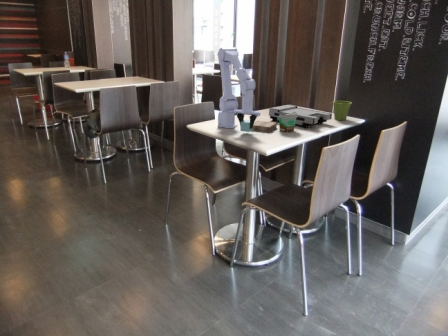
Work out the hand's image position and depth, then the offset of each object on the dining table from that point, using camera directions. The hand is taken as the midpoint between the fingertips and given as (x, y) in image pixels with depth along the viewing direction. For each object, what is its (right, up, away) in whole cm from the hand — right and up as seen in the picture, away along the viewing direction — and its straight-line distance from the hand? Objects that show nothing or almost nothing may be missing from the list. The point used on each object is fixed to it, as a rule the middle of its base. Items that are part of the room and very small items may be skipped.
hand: (246, 127), depth 186 cm
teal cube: (0, -1, +1) cm, 2 cm away
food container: (+25, -1, +7) cm, 26 cm away
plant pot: (+64, +10, +37) cm, 74 cm away
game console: (+35, +6, +28) cm, 45 cm away
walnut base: (+10, +1, +12) cm, 16 cm away
